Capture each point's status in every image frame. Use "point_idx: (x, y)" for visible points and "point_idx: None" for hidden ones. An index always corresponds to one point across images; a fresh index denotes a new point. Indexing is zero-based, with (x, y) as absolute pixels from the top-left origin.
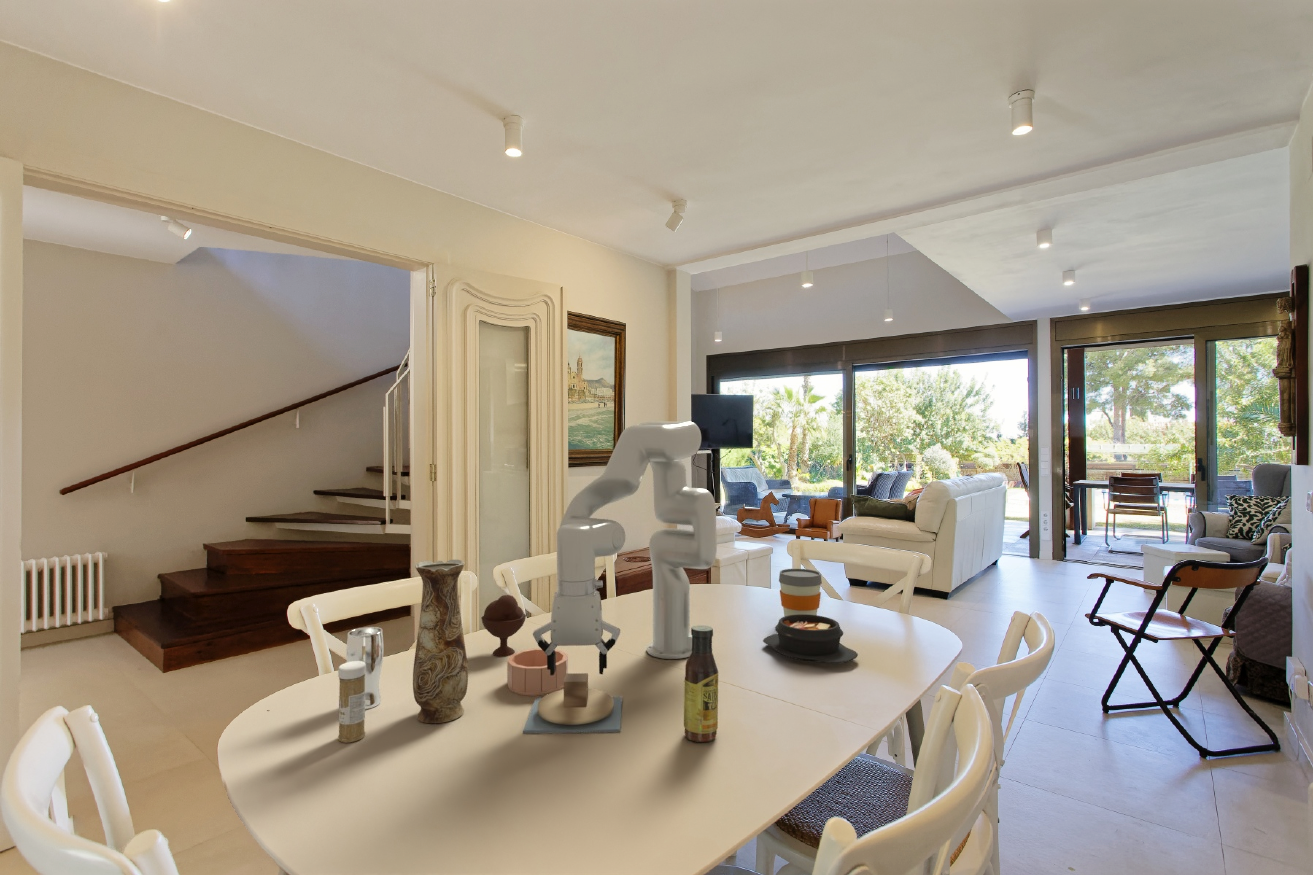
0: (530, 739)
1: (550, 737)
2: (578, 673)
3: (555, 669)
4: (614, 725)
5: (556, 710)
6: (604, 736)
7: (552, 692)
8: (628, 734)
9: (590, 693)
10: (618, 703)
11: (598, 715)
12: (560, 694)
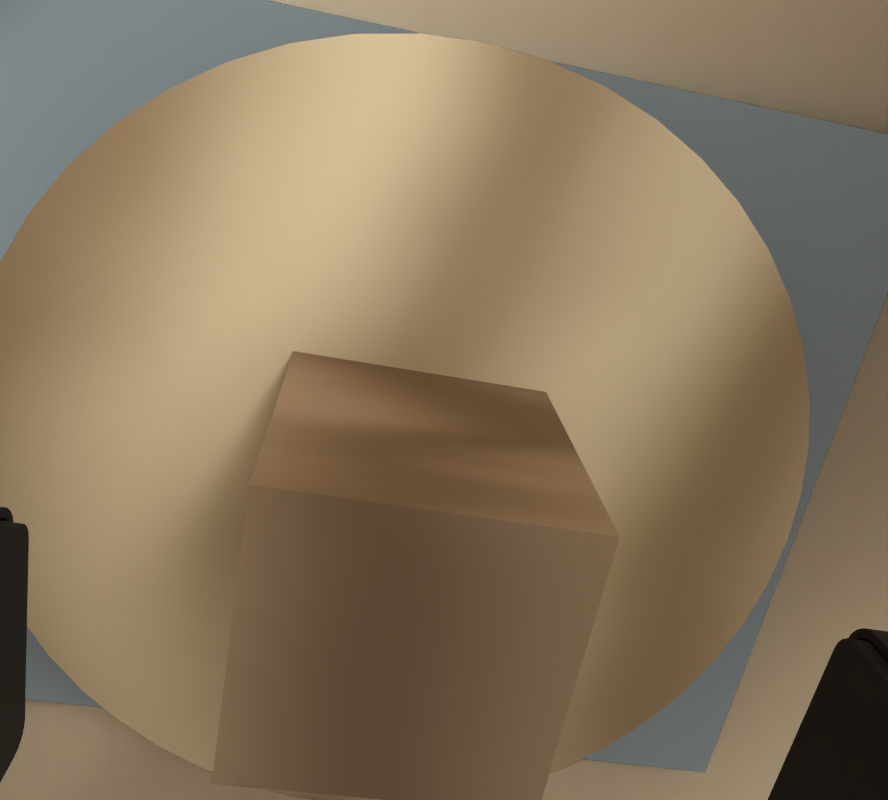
0: (19, 766)
1: (174, 759)
2: (462, 516)
3: (20, 574)
4: (681, 713)
5: (189, 623)
6: (573, 795)
7: (112, 126)
8: (744, 792)
9: (597, 266)
10: (849, 309)
11: (576, 757)
12: (223, 217)
